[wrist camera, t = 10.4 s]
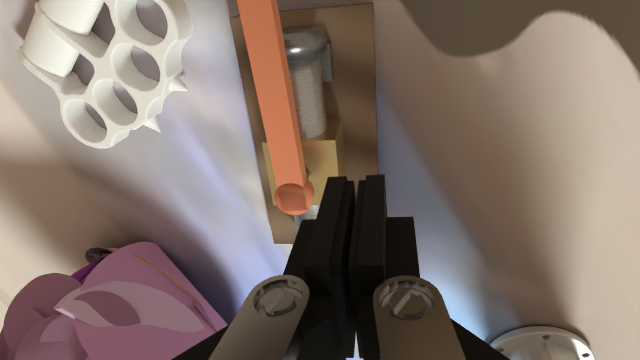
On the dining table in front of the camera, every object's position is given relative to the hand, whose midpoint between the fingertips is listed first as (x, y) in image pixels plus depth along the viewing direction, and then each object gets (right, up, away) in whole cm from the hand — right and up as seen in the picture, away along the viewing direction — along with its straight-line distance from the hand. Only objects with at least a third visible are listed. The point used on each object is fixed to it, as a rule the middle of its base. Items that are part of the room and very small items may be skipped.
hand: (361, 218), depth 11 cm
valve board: (-2, +5, +26) cm, 27 cm away
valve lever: (-4, +6, +15) cm, 16 cm away
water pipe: (-2, +4, +25) cm, 26 cm away
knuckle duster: (-21, +13, +26) cm, 36 cm away
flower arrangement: (-23, -18, +43) cm, 52 cm away
